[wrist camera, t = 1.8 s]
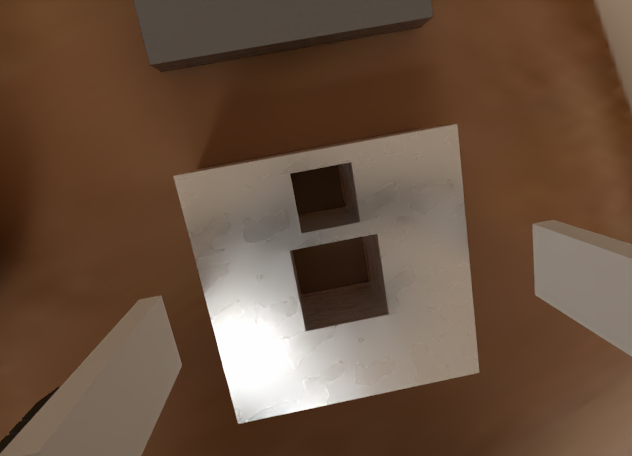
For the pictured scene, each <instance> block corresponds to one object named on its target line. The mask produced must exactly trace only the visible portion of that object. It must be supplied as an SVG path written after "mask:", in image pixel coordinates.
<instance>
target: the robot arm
mask: <svg viewBox="0 0 632 456" xmlns="http://www.w3.org/2000/svg"><path fill="white" fill-rule="evenodd" d="M532 226H533V254H534V282H535V295H536V296H537V297H539V298H540V299H542V300H543V301H545V302H547V303H548V304H550V305H551V306H553V307H554V308H556V309H558V310H559V311H561V312H562V313H564V314H565V315H567V316H569V317H570V318H572V319H573V320H575V321H576V322H578V323H580V324H581V325H583V326H584V327H586V328H587V329H589V330H591V331H592V332H594V333H595V334H597V335H598V336H600V337H602V338H603V339H605V340H606V341H608V342H609V343H611V344H613V345H614V346H616V347H617V348H619V349H620V350H622V351H624V352H625V353H627V354H628V355H630V356H631V357H632V244H630V243H627V242H624V241H620V240H617V239H614V238H611V237H607V236H604V235H601V234H598V233H595V232H591V231H588V230H585V229H582V228H579V227H575V226H572V225H569V224H566V223H562V222H559V221H556V220H549V221H544V222H539V223H533V224H532ZM181 367H182V363H181V359H180V356H179V353H178V349H177V346H176V343H175V339H174V336H173V333H172V329H171V326H170V323H169V319H168V316H167V313H166V309H165V306H164V303H163V299H162V296H161V295H160V296H155V297H150V298H145V299H139V300H138V301H137V302H136V303H135V304H134V306H133V307H132V308H131V309H130V310H129V311H128V312H127V313H126V314H125V316H124V317H123V318H122V319H121V320H120V321H119V322H118V323H117V324H116V326H115V327H114V328H113V329H112V330H111V331H110V332H109V333H108V334H107V336H106V337H105V338H104V339H103V340H102V341H101V342H100V343H99V344H98V346H97V347H96V348H95V349H94V350H93V351H92V352H91V353H90V354H89V356H88V357H87V358H86V359H85V360H84V361H83V362H82V363H81V364H80V366H79V367H78V368H77V369H76V370H75V371H74V372H73V373H72V374H71V376H70V377H69V378H68V379H67V380H66V381H65V382H64V383H63V384H62V386H61V387H58V388H56V389H55V390H54V391H52V392H51V393H50V394H48V395H47V396H45V397H44V398H43V399H41V400H40V401H39V402H37V403H36V404H35V405H34V407H33V408H32V409H31V410H30V411H29V412H28V413H27V414H26V415H25V416H24V417H23V418H22V421H21V422H19V423H18V424H17V425H16V426H15V427H14V428H13V429H12V430H11V431H10V432H9V433H10V434H9V435H8V436H5V438H4V439H3V440H2V441H1V442H0V456H141V455H142V453H143V451H144V449H145V447H146V444H147V442H148V440H149V438H150V436H151V433H152V431H153V429H154V427H155V424H156V422H157V420H158V418H159V416H160V413H161V411H162V409H163V407H164V405H165V402H166V400H167V398H168V396H169V394H170V391H171V389H172V387H173V385H174V383H175V380H176V378H177V376H178V374H179V371H180V369H181Z"/></svg>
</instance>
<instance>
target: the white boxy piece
mask: <svg viewBox="0 0 632 456" xmlns="http://www.w3.org/2000/svg"><path fill="white" fill-rule="evenodd" d="M334 165H338V167H339V173H340V180H341V186H342V192H343V198H344V204H345V206H344V207H339V208H334V209H328V210H323V211H318V212H313V213H307V214H302V215H298V212H297V207H296V202H295V197H294V191H293V186H292V181H291V176H290V174H291V173H296V172H301V171H307V170H312V169H318V168H323V167H328V166H334ZM173 177H174V181H175V184H176V188H177V192H178V196H179V200H180V203H181V207H182V211H183V215H184V219H185V223H186V226H187V230H188V234H189V238H190V242H191V246H192V249H193V253H194V257H195V261H196V265H197V269H198V272H199V276H200V280H201V284H202V288H203V291H204V295H205V299H206V303H207V307H208V311H209V314H210V318H211V322H212V326H213V330H214V334H215V337H216V341H217V345H218V349H219V353H220V356H221V360H222V364H223V368H224V372H225V376H226V379H227V383H228V387H229V391H230V395H231V399H232V402H233V406H234V410H235V414H236V418H237V421H238V424H241V423H245V422H250V421H255V420H259V419H264V418H269V417H274V416H278V415H283V414H288V413H292V412H297V411H302V410H306V409H311V408H316V407H321V406H325V405H330V404H335V403H339V402H344V401H349V400H353V399H358V398H363V397H368V396H372V395H377V394H382V393H386V392H391V391H396V390H400V389H405V388H410V387H415V386H419V385H424V384H429V383H433V382H438V381H443V380H447V379H452V378H457V377H462V376H466V375H471V374H476V373H479V362H478V350H477V339H476V328H475V317H474V305H473V294H472V283H471V272H470V260H469V249H468V238H467V226H466V215H465V204H464V193H463V181H462V170H461V159H460V148H459V136H458V125H457V124H453V125H445V126H436V127H428V128H420V129H415V130H409V131H404V132H398V133H393V134H387V135H382V136H376V137H371V138H365V139H360V140H354V141H349V142H343V143H338V144H333V145H327V146H322V147H316V148H311V149H305V150H300V151H294V152H289V153H283V154H278V155H272V156H267V157H261V158H256V159H250V160H245V161H240V162H234V163H229V164H223V165H218V166H212V167H207V168H201V169H196V170H193V171H189V172H186V173H182V174H179V175H175V176H173ZM358 237H362V243H363V249H364V256H365V262H366V269H367V275H368V282H364V283H359V284H354V285H349V286H344V287H339V288H334V289H329V290H324V291H319V292H314V293H309V294H304V295H301V290H300V285H299V280H298V275H297V270H296V265H295V260H294V255H293V250H296V249H301V248H306V247H311V246H316V245H321V244H327V243H332V242H337V241H342V240H347V239H352V238H358Z"/></svg>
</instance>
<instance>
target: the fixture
mask: <svg viewBox="0 0 632 456" xmlns="http://www.w3.org/2000/svg"><path fill="white" fill-rule="evenodd" d="M133 1H134V5H135V9H136V13H137V17H138V21H139V24H140V28H141V32H142V36H143V40H144V44H145V48H146V52H147V55H148V59H149V63H150V65H151V66H153V67H154V68H156V69H158V70H159V71H161V72H163V71H168V70H174V69H180V68H186V67H192V66H198V65H204V64H209V63H215V62H221V61H227V60H233V59H239V58H244V57H250V56H256V55H262V54H268V53H274V52H280V51H285V50H291V49H297V48H303V47H309V46H315V45H321V44H326V43H332V42H338V41H344V40H350V39H356V38H361V37H367V36H373V35H379V34H385V33H391V32H397V31H402V30H408V29H414V28H420V27H422V26H423V25H424V24H425V23H426V22H427V21H429V20H430V19H431V18H432V17H433V12H432V2H431V0H133Z"/></svg>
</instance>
